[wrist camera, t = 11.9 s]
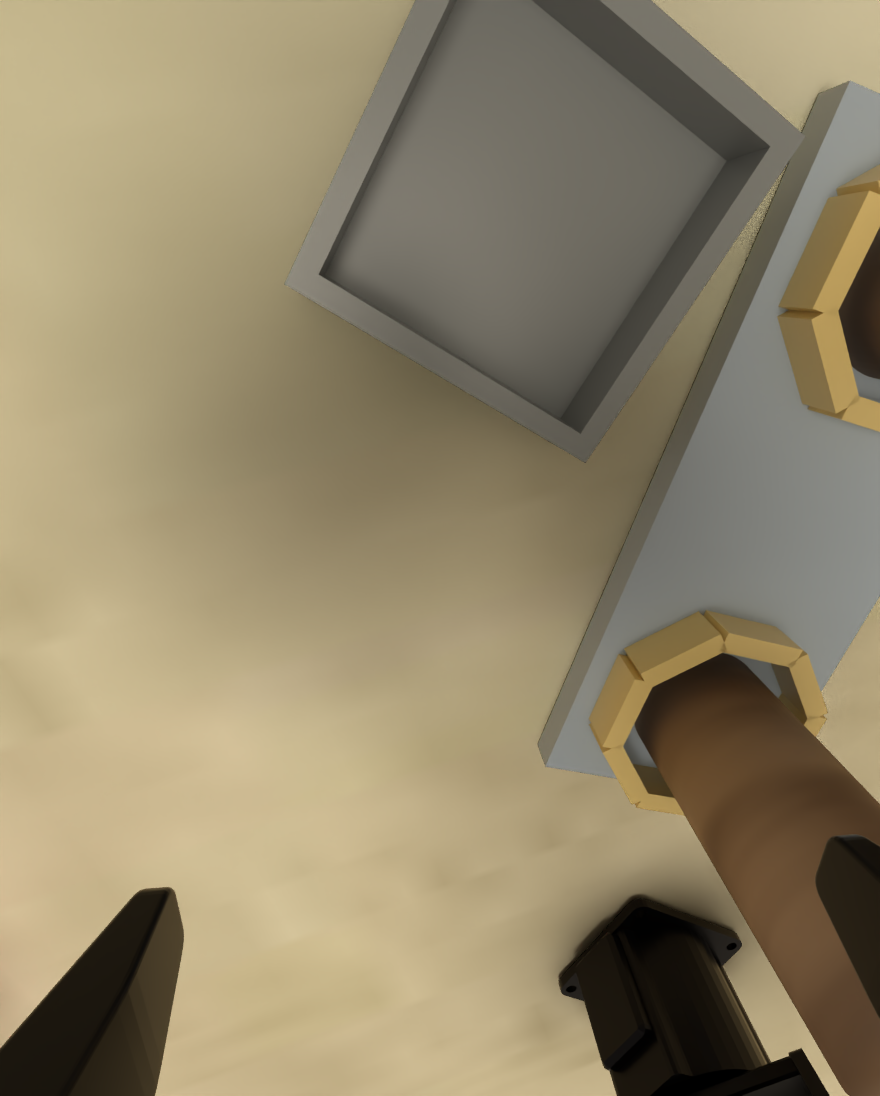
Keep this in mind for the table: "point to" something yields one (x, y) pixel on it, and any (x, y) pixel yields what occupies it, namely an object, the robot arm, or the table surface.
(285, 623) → the table surface
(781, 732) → the cylinder
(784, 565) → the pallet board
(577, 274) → the gray square tray
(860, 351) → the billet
